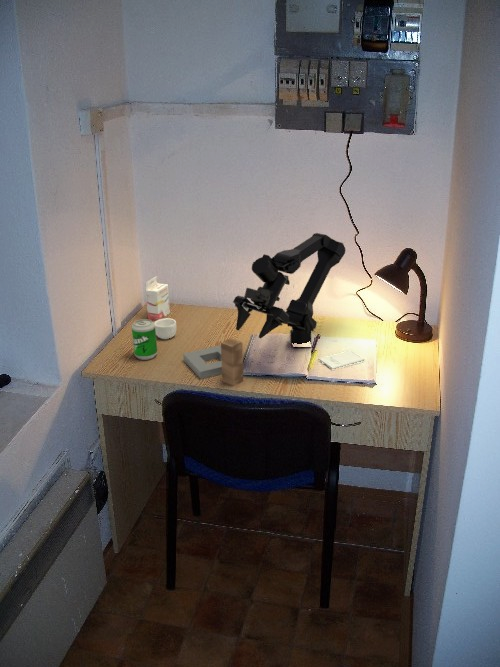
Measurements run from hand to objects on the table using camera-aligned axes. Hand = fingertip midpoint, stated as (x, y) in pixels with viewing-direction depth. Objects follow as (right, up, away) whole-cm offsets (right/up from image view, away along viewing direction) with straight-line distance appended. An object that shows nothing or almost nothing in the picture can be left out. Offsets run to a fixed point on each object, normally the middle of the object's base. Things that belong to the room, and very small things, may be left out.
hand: (248, 333), depth 199 cm
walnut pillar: (-5, -14, 0) cm, 15 cm away
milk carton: (-34, +6, +49) cm, 59 cm away
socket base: (-11, -10, +11) cm, 18 cm away
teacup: (-29, -1, +32) cm, 43 cm away
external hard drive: (+30, -9, +11) cm, 33 cm away
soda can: (-34, -8, +17) cm, 39 cm away
